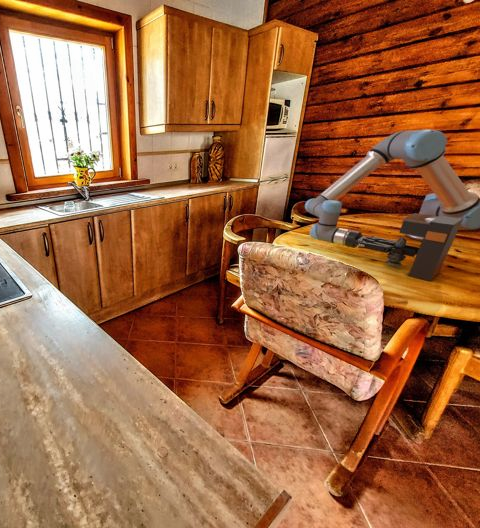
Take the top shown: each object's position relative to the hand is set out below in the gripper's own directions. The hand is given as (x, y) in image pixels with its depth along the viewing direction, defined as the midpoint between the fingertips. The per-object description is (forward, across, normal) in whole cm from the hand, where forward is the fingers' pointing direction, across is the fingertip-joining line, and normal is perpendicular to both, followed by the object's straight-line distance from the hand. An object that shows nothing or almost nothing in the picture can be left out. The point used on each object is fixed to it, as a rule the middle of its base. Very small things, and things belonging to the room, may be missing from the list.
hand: (416, 252), depth 109 cm
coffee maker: (+1, 0, -8) cm, 8 cm away
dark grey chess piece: (-5, 0, -7) cm, 9 cm away
